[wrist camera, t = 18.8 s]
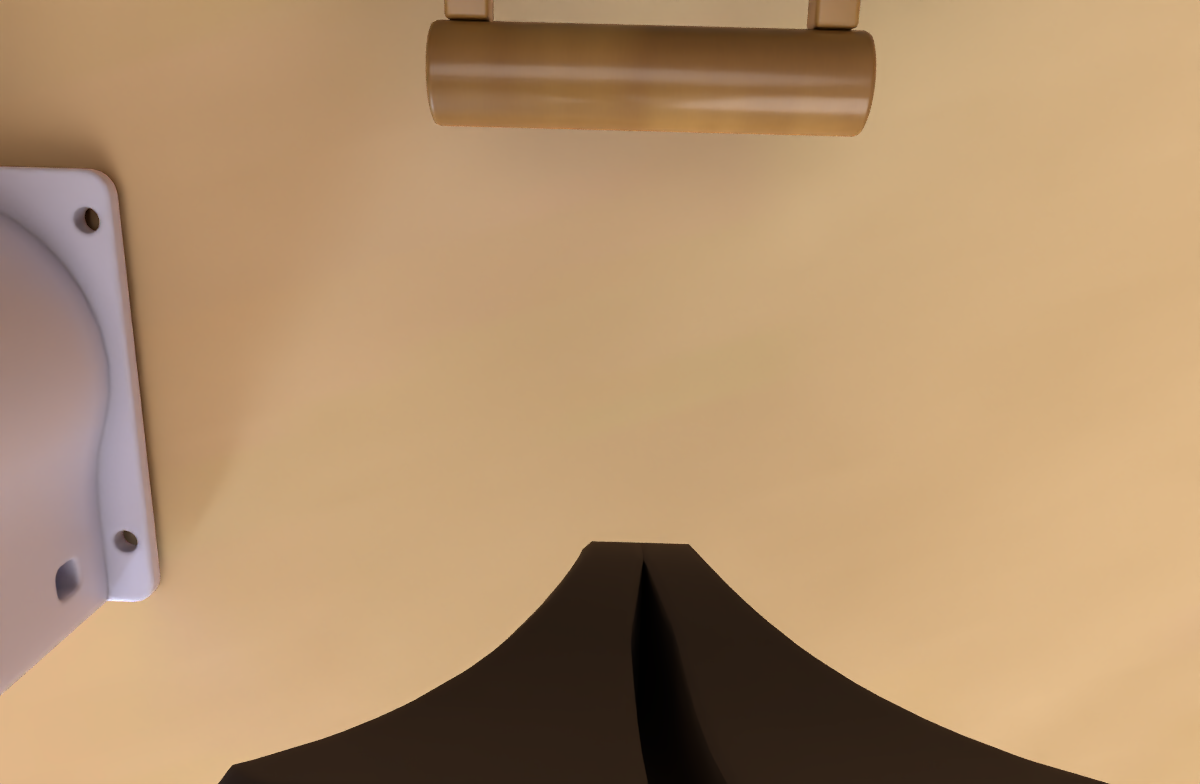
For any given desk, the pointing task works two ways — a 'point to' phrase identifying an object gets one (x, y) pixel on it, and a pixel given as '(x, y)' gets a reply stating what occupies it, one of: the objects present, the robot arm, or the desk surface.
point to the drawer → (652, 74)
